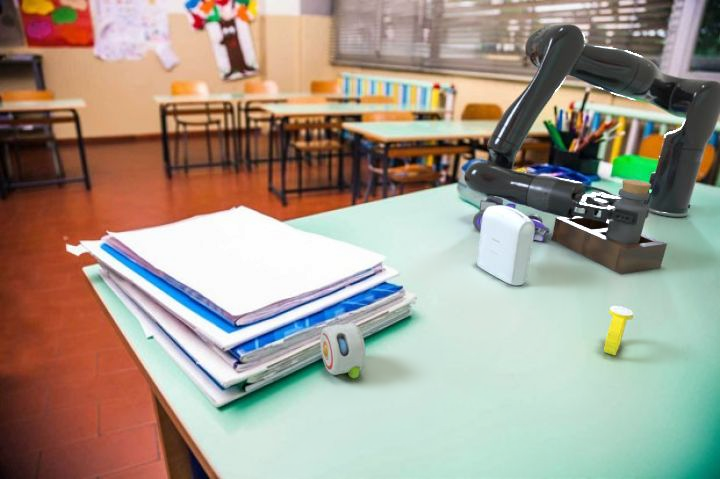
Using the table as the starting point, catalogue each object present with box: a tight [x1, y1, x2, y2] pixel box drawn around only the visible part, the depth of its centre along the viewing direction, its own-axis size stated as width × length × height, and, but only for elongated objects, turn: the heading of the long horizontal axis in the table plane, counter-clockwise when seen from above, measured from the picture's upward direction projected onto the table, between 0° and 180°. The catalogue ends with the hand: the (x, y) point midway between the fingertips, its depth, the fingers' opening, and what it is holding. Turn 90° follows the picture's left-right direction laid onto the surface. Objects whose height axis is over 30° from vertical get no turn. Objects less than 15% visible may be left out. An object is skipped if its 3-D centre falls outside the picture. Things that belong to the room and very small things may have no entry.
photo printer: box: [476, 205, 536, 286], centre depth 86 cm, size 10×4×12 cm, turn 26°
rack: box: [551, 216, 668, 275], centre depth 99 cm, size 18×10×5 cm, turn 21°
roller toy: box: [319, 322, 367, 379], centre depth 59 cm, size 4×6×6 cm
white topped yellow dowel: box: [603, 305, 634, 356], centre depth 65 cm, size 6×3×6 cm, turn 144°
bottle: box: [605, 178, 651, 245], centre depth 93 cm, size 6×6×15 cm
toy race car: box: [472, 196, 551, 242], centre depth 109 cm, size 10×15×6 cm, turn 58°
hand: (642, 216), depth 91 cm, fingers closed on bottle, 6 cm apart
